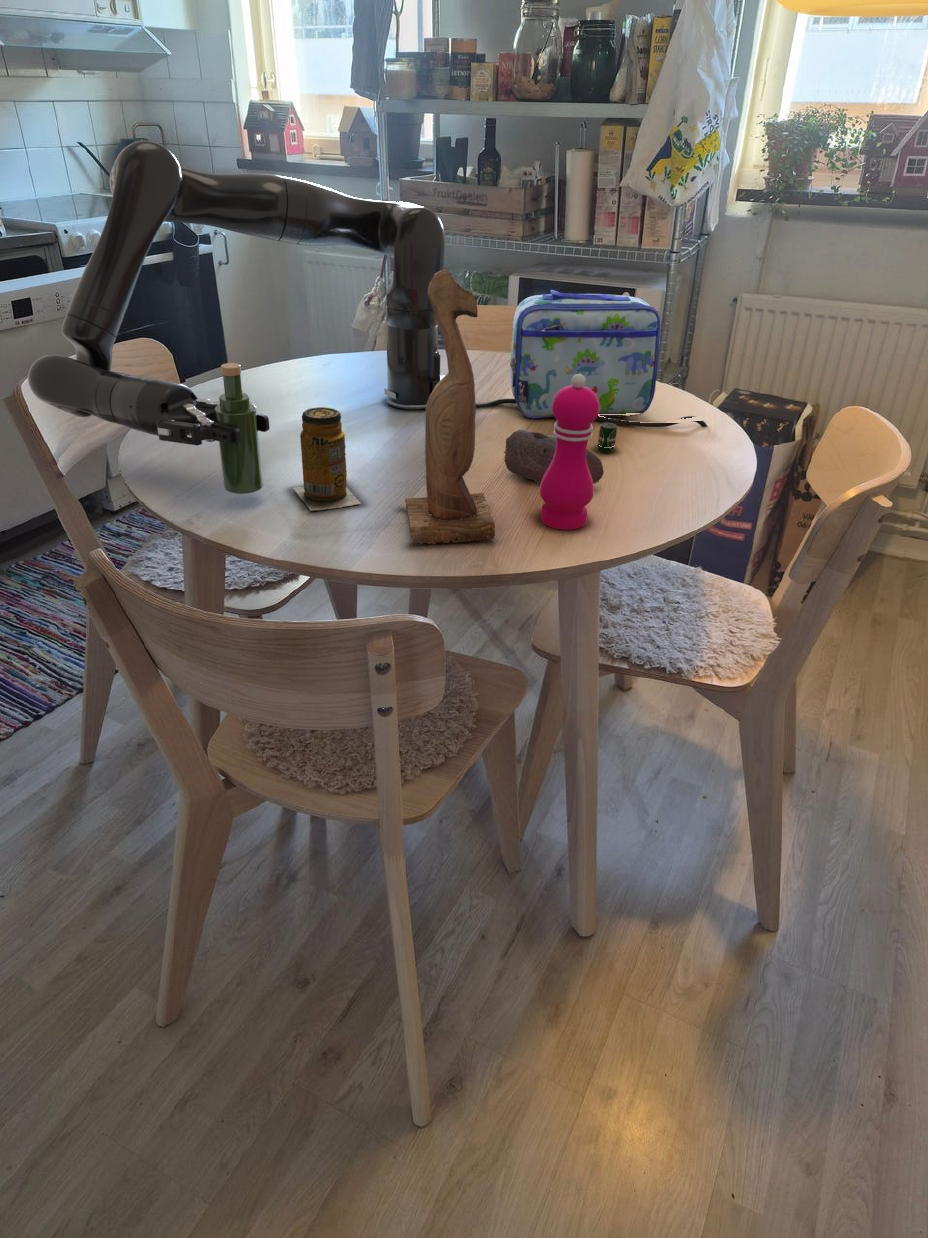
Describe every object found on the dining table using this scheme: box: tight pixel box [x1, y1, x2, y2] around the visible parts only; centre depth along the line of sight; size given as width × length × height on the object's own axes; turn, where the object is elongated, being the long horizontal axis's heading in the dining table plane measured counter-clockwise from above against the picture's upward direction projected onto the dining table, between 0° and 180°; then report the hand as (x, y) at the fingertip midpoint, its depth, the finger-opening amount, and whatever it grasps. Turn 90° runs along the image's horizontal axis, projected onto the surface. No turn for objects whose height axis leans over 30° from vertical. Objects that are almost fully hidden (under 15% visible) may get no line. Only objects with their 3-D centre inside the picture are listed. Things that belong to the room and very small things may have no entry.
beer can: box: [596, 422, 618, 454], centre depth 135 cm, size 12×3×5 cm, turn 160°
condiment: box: [293, 406, 362, 512], centre depth 113 cm, size 7×8×12 cm
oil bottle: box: [215, 362, 264, 495], centre depth 108 cm, size 5×5×16 cm
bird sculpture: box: [404, 268, 496, 547], centre depth 101 cm, size 11×12×32 cm
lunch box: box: [509, 289, 662, 419], centre depth 146 cm, size 26×11×21 cm, turn 92°
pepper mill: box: [539, 374, 599, 531], centre depth 107 cm, size 7×7×20 cm
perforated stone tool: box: [503, 429, 605, 485], centre depth 122 cm, size 15×5×7 cm, turn 66°
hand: (253, 430), depth 107 cm, fingers closed on oil bottle, 5 cm apart
